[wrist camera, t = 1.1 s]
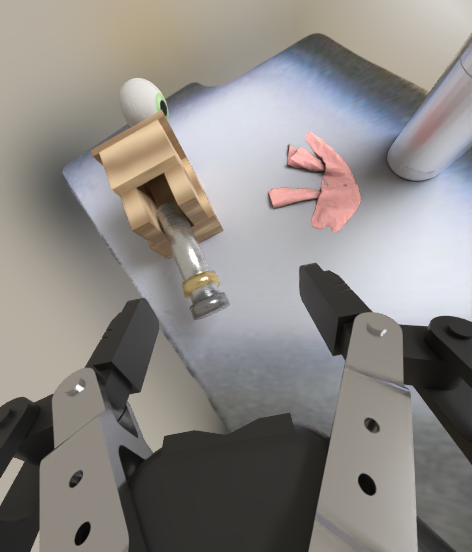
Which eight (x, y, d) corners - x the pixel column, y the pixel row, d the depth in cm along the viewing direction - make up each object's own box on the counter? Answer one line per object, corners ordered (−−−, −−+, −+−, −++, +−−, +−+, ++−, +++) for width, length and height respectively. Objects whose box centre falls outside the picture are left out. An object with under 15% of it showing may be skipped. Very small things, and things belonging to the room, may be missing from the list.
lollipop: (189, 177, 42) (146, 103, 27) (158, 176, 43) (102, 105, 29) (195, 147, 43) (157, 62, 29) (165, 147, 45) (115, 66, 30)
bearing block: (146, 201, 43) (90, 150, 29) (195, 174, 42) (161, 109, 29) (168, 258, 39) (116, 229, 26) (223, 230, 38) (198, 185, 25)
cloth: (348, 246, 35) (354, 241, 32) (232, 213, 39) (230, 207, 37) (380, 146, 37) (388, 135, 35) (268, 127, 42) (267, 116, 40)
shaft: (163, 225, 34) (145, 209, 29) (190, 211, 34) (176, 193, 29) (201, 319, 30) (187, 320, 25) (232, 304, 30) (225, 301, 24)
